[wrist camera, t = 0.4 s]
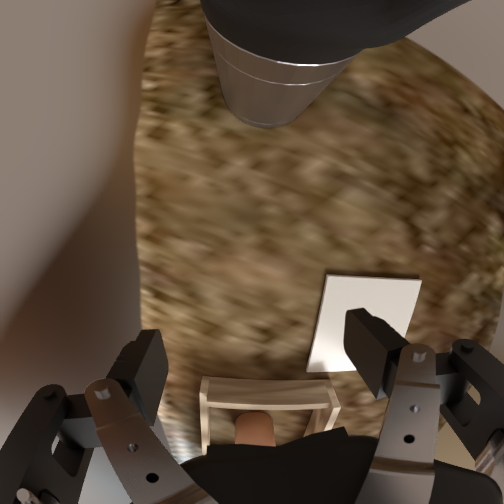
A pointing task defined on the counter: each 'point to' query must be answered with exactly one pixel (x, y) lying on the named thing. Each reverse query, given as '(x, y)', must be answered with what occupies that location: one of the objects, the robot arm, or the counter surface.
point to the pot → (254, 429)
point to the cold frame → (269, 400)
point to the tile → (352, 297)
